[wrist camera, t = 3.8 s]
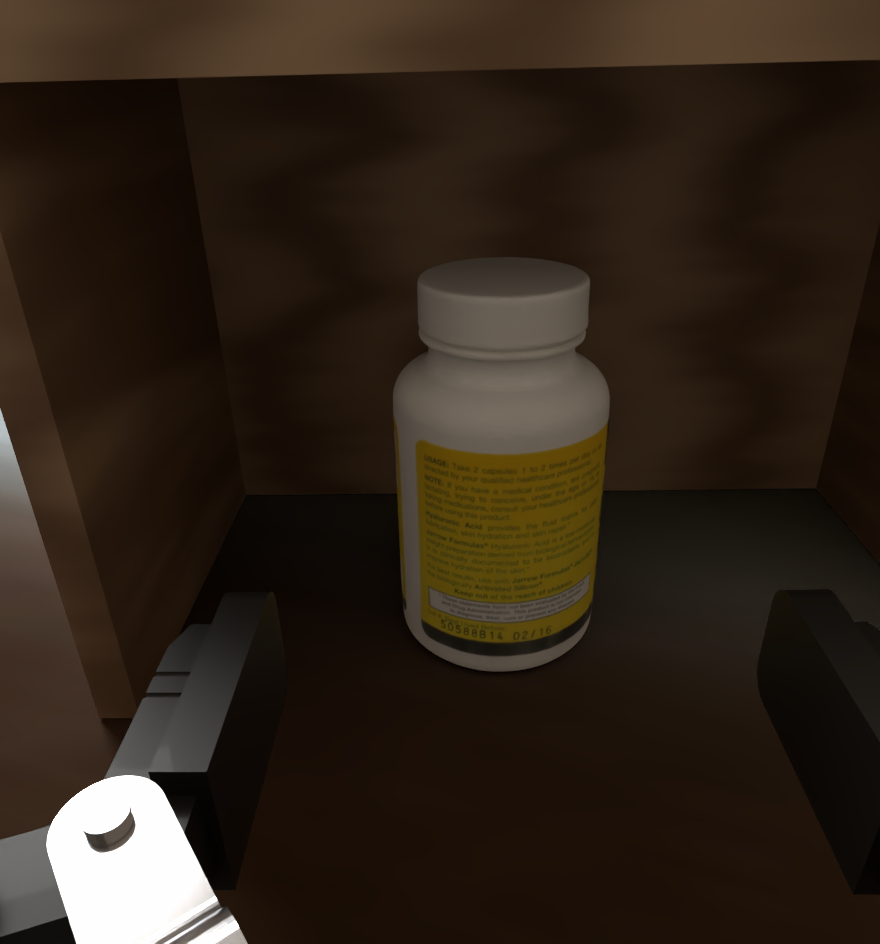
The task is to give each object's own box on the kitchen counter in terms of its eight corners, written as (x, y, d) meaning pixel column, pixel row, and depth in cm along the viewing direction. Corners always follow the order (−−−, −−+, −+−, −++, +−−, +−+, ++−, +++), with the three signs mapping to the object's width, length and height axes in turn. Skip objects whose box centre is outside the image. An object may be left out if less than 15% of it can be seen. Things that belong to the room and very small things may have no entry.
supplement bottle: (631, 638, 21) (674, 284, 17) (457, 707, 19) (450, 324, 14) (526, 542, 26) (537, 240, 21) (374, 590, 23) (349, 266, 19)
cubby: (99, 718, 19) (-131, -2, 12) (226, 482, 30) (144, 25, 22) (1048, 713, 18) (1413, -47, 11) (832, 474, 29) (948, 3, 22)
